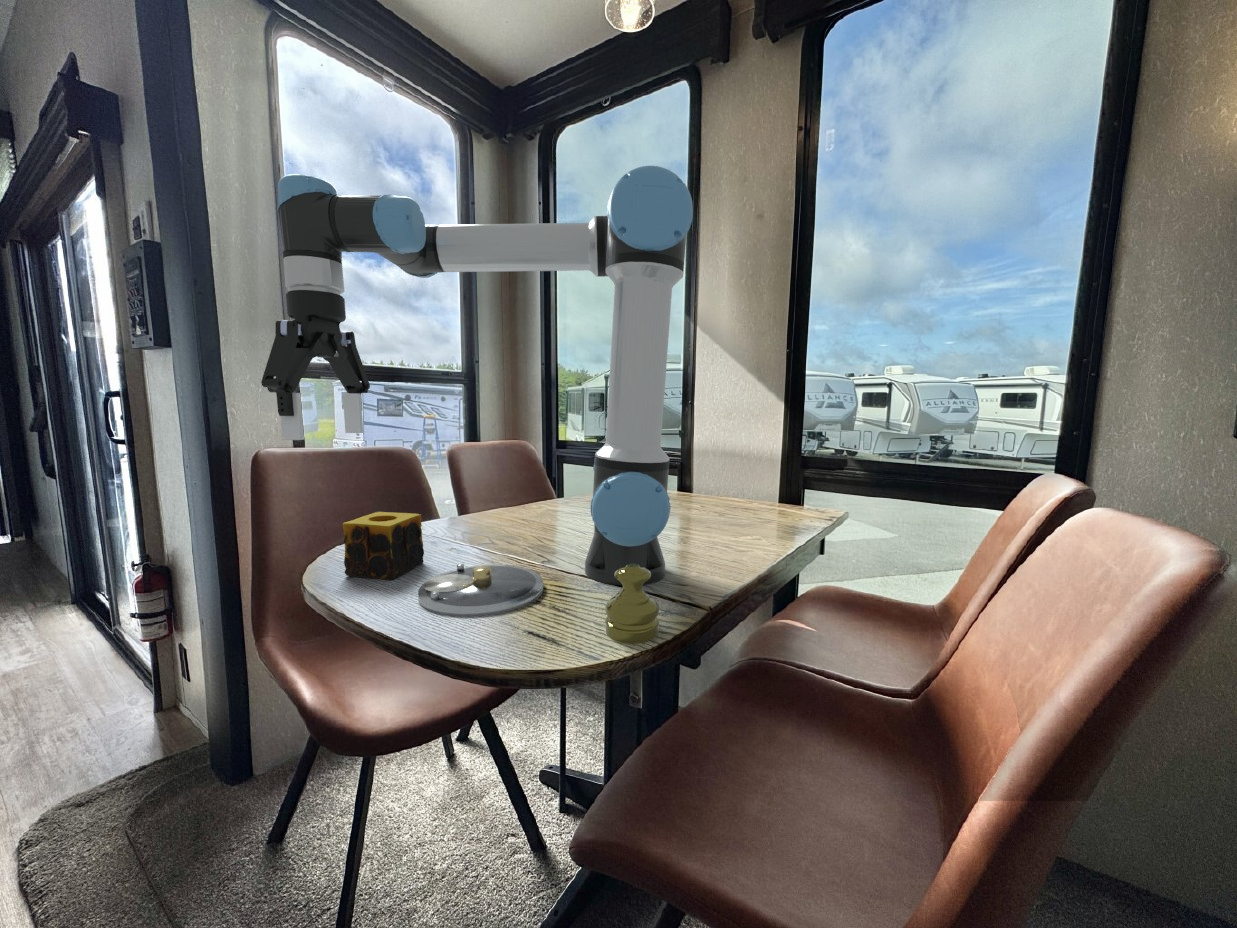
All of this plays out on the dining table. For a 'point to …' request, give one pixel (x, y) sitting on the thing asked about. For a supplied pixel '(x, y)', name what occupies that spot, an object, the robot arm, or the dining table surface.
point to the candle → (383, 545)
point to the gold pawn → (632, 608)
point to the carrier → (480, 590)
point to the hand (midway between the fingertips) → (326, 436)
